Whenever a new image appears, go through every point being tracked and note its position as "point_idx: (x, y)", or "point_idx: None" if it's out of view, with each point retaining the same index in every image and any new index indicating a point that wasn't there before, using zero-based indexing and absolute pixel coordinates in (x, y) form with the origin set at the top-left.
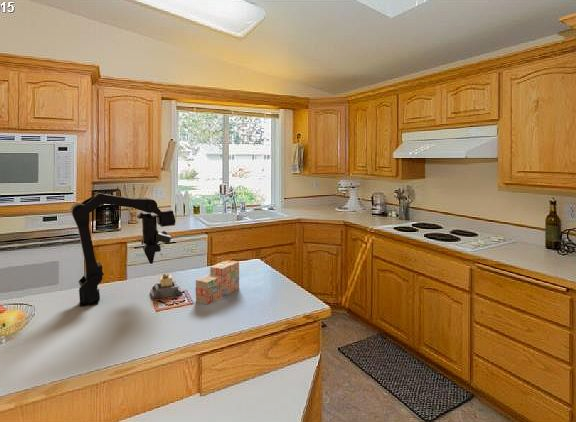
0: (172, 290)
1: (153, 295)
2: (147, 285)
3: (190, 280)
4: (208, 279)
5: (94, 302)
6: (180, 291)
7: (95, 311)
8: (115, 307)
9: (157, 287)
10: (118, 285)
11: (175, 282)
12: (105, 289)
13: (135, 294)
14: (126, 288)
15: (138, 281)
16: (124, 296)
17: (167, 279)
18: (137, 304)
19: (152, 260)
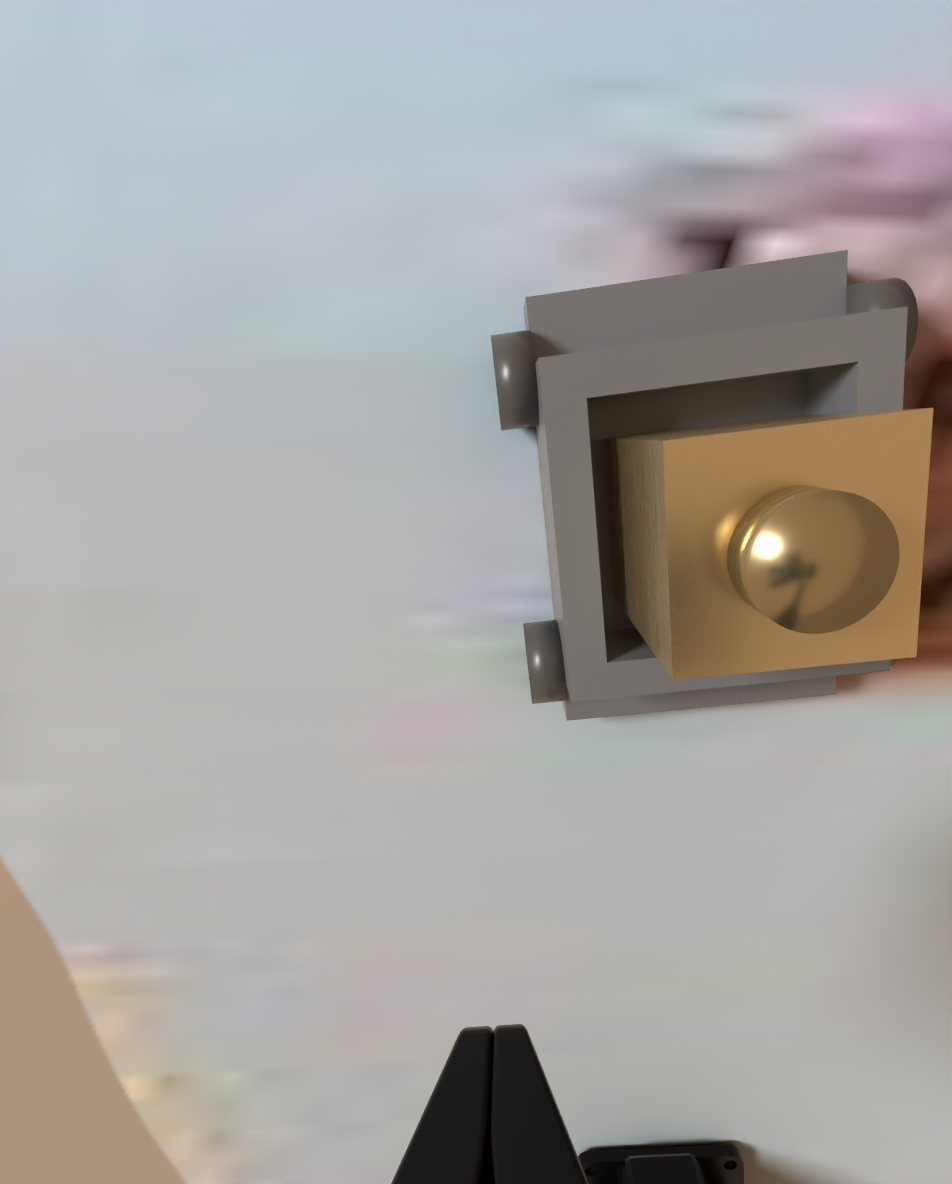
0: None
1: (822, 681)
2: (287, 742)
3: (177, 87)
4: None
5: (715, 1181)
6: (902, 280)
7: (911, 1142)
8: (895, 1010)
9: None
10: (219, 1022)
11: (636, 350)
12: (321, 1116)
13: (577, 858)
14: (340, 949)
15: (111, 843)
16: (600, 954)
17: (911, 513)
18: (918, 828)
19: (570, 1165)
